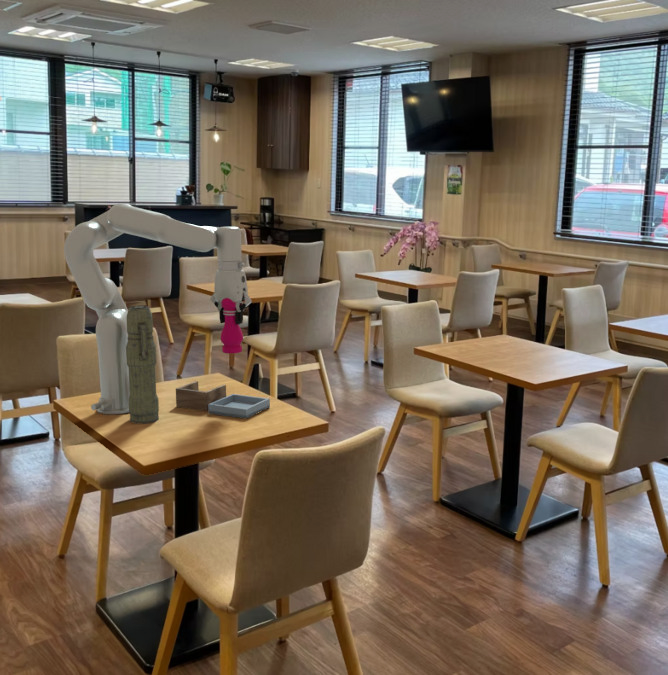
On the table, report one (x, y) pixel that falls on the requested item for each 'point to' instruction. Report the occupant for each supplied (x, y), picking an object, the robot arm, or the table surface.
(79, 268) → the robot arm
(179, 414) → the table surface
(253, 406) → the slate tray
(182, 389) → the walnut bay
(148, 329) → the olive piece
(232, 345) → the pepper mill
